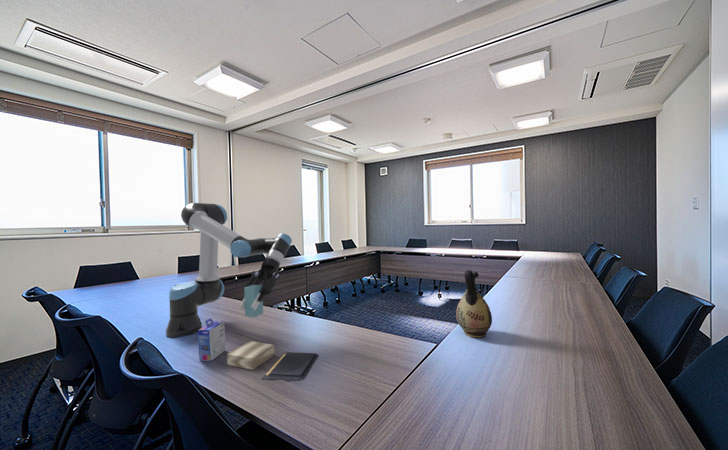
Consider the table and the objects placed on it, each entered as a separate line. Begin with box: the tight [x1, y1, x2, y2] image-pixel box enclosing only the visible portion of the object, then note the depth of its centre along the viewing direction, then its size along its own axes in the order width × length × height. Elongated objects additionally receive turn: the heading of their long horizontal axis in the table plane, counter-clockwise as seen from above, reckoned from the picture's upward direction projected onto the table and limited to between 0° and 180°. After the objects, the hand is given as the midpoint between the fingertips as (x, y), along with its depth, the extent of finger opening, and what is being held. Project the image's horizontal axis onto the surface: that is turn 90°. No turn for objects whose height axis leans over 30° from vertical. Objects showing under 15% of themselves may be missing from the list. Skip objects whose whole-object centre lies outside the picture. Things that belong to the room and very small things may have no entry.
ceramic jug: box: [455, 269, 493, 338], centre depth 128 cm, size 17×15×30 cm
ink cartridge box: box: [197, 317, 227, 362], centre depth 113 cm, size 10×6×14 cm, turn 174°
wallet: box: [261, 351, 320, 382], centre depth 103 cm, size 20×2×15 cm
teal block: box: [243, 284, 264, 318], centre depth 117 cm, size 5×5×12 cm
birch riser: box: [226, 340, 275, 370], centre depth 108 cm, size 12×12×4 cm
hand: (247, 307), depth 114 cm, fingers closed on teal block, 5 cm apart
